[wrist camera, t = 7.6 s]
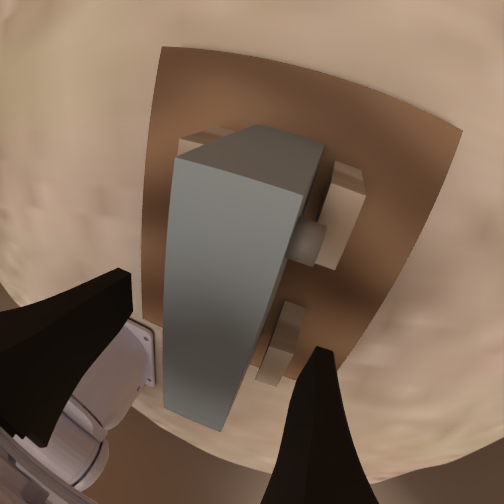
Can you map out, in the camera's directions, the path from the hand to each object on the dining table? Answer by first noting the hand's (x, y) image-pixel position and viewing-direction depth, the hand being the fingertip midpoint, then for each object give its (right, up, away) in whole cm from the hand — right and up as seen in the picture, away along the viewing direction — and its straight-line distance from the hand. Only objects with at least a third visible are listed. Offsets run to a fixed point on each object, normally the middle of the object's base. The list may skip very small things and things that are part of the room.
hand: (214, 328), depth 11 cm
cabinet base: (+2, +4, +6) cm, 7 cm away
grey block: (+2, +3, +5) cm, 6 cm away
